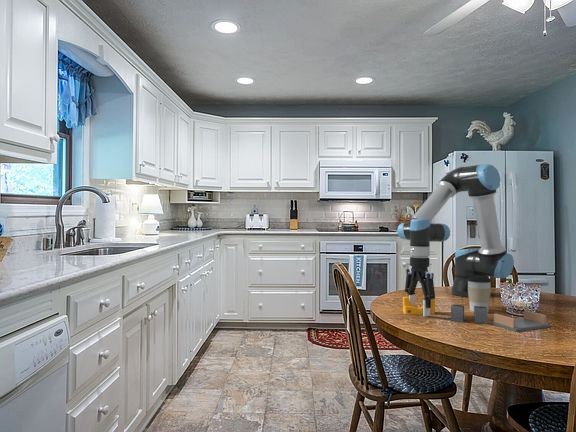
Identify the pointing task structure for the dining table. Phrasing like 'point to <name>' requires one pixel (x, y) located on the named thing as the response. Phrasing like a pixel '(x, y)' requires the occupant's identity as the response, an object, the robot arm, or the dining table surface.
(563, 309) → the dining table surface
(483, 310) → the block
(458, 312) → the block
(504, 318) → the end holder
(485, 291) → the coffee cup
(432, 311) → the pipe clamp
